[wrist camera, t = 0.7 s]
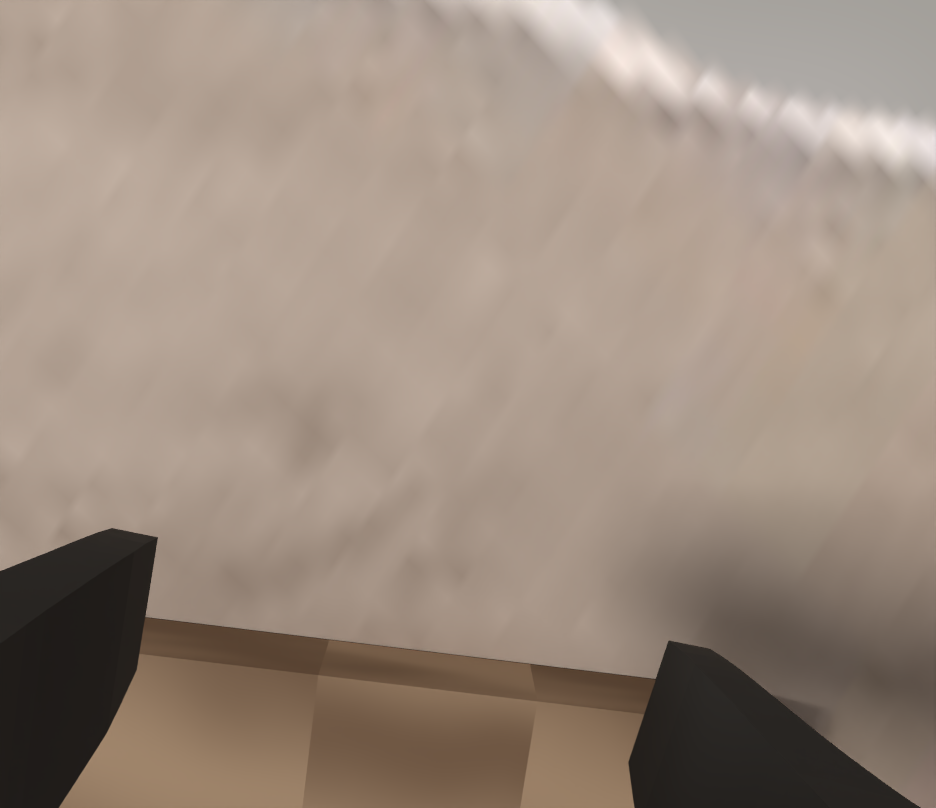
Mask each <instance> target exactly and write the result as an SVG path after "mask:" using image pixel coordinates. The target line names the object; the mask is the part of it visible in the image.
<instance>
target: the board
mask: <svg viewBox="0 0 936 808" xmlns="http://www.w3.org/2000/svg"><path fill="white" fill-rule="evenodd" d="M655 680H656V679H647V678H639V677H631V676H623V675H614V674H606V673H598V672H590V671H581V670H573V669H565V668H557V667H548V666H540V665H532V664H524V663H516V662H507V661H499V660H491V659H483V658H474V657H466V656H458V655H450V654H441V653H433V652H425V651H417V650H408V649H400V648H392V647H384V646H375V645H367V644H359V643H351V642H342V641H334V640H326V639H318V638H310V637H301V636H293V635H285V634H277V633H268V632H260V631H252V630H244V629H235V628H227V627H219V626H211V625H202V624H194V623H186V622H178V621H169V620H161V619H153V618H145V621H144V627H143V634H142V640H141V646H140V653H139V659H138V665H137V671H136V673H135V675H134V677H133V679H132V681H131V684H130V686H129V688H128V690H127V692H126V694H125V697H124V699H123V701H122V703H121V705H120V707H119V709H118V711H117V713H116V715H115V717H114V719H113V722H112V724H111V726H110V728H109V730H108V732H107V734H106V735H105V737H104V738H103V740H102V742H101V743H100V745H99V746H98V748H97V750H96V751H95V753H94V754H93V756H92V757H91V759H90V760H89V762H88V764H87V765H86V767H85V768H84V770H83V771H82V773H81V774H80V776H79V778H78V779H77V781H76V782H75V784H74V785H73V787H72V788H71V790H70V791H69V793H68V794H67V796H66V798H65V799H64V801H63V802H62V804H61V805H60V807H59V808H635V807H634V801H633V795H632V787H631V780H630V772H629V765H628V761H629V758H630V755H631V752H632V749H633V746H634V743H635V740H636V737H637V734H638V731H639V728H640V725H641V722H642V719H643V716H644V713H645V710H646V707H647V704H648V701H649V698H650V695H651V692H652V689H653V686H654V683H655Z"/></svg>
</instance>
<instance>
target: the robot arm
mask: <svg viewBox="0 0 936 808" xmlns="http://www.w3.org/2000/svg"><path fill="white" fill-rule="evenodd" d="M157 539H158V537H153V536H148V535H143V534H138V533H133V532H128V531H123V530H118V529H113V528H111V529H108V530H104V531H101V532H98V533H95V534H93V535H90V536H87V537H85V538H82V539H80V540H77V541H75V542H72V543H70V544H67V545H65V546H62V547H60V548H57V549H55V550H53V551H50V552H48V553H45V554H43V555H40V556H37V557H35V558H32V559H30V560H27V561H25V562H22V563H20V564H17V565H15V566H12V567H10V568H7V569H5V570H2V571H0V808H59V807H60V805H61V804H62V802H63V801H64V799H65V798H66V796H67V794H68V793H69V791H70V790H71V788H72V787H73V785H74V784H75V782H76V781H77V779H78V778H79V776H80V774H81V773H82V771H83V770H84V768H85V767H86V765H87V764H88V762H89V760H90V759H91V757H92V756H93V754H94V753H95V751H96V750H97V748H98V746H99V745H100V743H101V742H102V740H103V738H104V737H105V735H106V734H107V732H108V730H109V728H110V726H111V724H112V722H113V719H114V717H115V715H116V713H117V711H118V709H119V707H120V705H121V703H122V701H123V699H124V697H125V694H126V692H127V690H128V688H129V686H130V684H131V681H132V679H133V677H134V675H135V673H136V671H137V665H138V659H139V653H140V646H141V640H142V634H143V627H144V621H145V615H146V609H147V602H148V596H149V590H150V583H151V577H152V571H153V564H154V558H155V552H156V545H157ZM628 765H629V772H630V780H631V787H632V795H633V801H634V807H635V808H920V807H919V806H917V805H916V804H914V803H912V802H911V801H910V800H908V799H907V798H905V797H904V796H902V795H901V794H899V793H898V792H896V791H895V790H894V789H892V788H891V787H889V786H888V785H886V784H885V783H884V782H882V781H881V780H880V779H878V778H877V777H876V776H874V775H873V774H871V773H870V772H869V771H867V770H866V769H865V768H863V767H862V766H861V765H859V764H858V763H857V762H855V761H854V760H853V759H851V758H850V757H848V756H847V755H846V754H845V753H843V752H842V751H841V750H839V749H838V748H837V747H836V746H834V745H833V744H832V743H830V742H829V741H828V740H827V739H825V738H824V737H823V736H821V735H820V734H819V733H818V732H816V731H815V730H814V729H813V728H811V727H810V726H809V725H808V724H806V723H805V722H804V721H803V720H802V719H800V718H799V717H798V716H797V715H795V714H794V713H793V712H792V711H790V710H789V709H788V708H787V707H786V706H784V705H783V704H782V703H781V702H779V701H778V700H777V699H776V698H775V697H773V696H772V695H771V694H770V693H768V692H767V691H766V690H765V689H764V688H762V687H761V686H760V685H759V684H757V683H756V682H755V681H754V680H752V679H751V678H750V677H749V676H747V675H746V674H745V673H744V672H742V671H741V670H740V669H738V668H737V667H736V666H734V665H733V664H732V663H730V662H729V661H728V660H726V659H725V658H723V657H722V656H720V655H719V654H717V653H716V652H714V651H712V650H711V649H707V648H702V647H697V646H692V645H688V644H683V643H678V642H673V641H668V644H667V647H666V650H665V653H664V656H663V659H662V662H661V665H660V668H659V671H658V674H657V677H656V680H655V683H654V686H653V689H652V692H651V695H650V698H649V701H648V704H647V707H646V710H645V713H644V716H643V719H642V722H641V725H640V728H639V731H638V734H637V737H636V740H635V743H634V746H633V749H632V752H631V755H630V758H629V761H628Z"/></svg>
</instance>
